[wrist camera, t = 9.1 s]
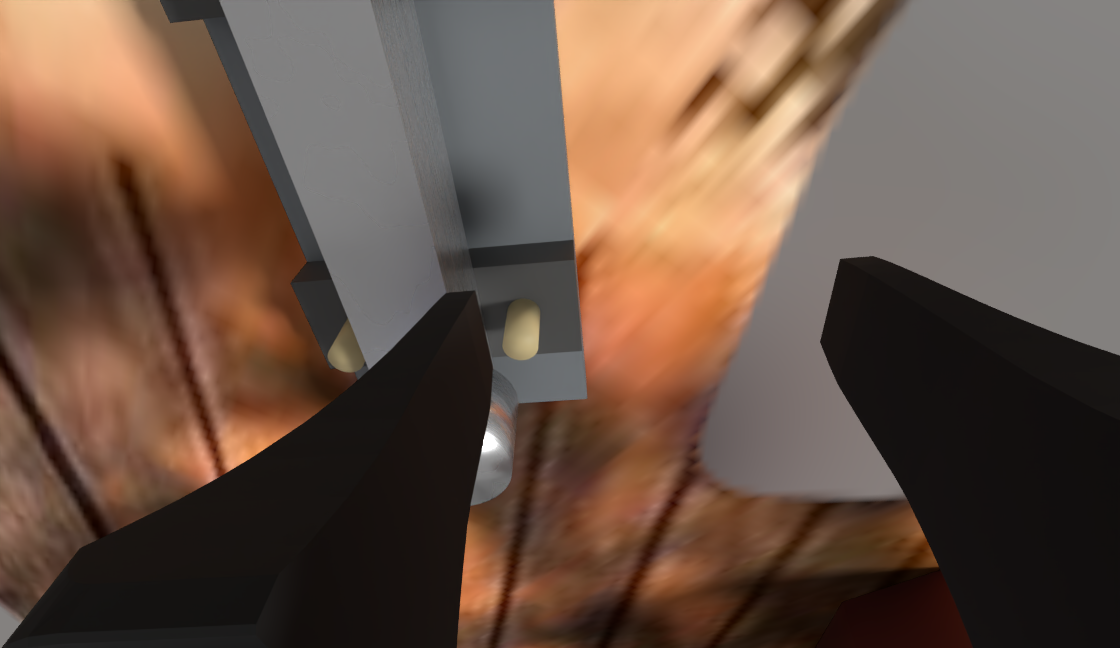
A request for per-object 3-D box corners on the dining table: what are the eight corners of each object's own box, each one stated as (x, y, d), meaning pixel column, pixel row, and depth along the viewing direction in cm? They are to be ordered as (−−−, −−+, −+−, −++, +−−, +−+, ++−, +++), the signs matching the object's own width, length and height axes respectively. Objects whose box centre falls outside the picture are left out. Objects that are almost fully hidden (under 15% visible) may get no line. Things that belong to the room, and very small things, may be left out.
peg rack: (586, 376, 25) (590, 460, 21) (380, 390, 26) (346, 474, 21) (512, -485, 11) (483, -737, 7) (60, -411, 11) (-213, -604, 7)
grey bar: (524, 434, 23) (519, 503, 20) (426, 440, 23) (407, 509, 20) (339, -532, 9) (233, -756, 6) (93, -491, 9) (-118, -686, 6)
